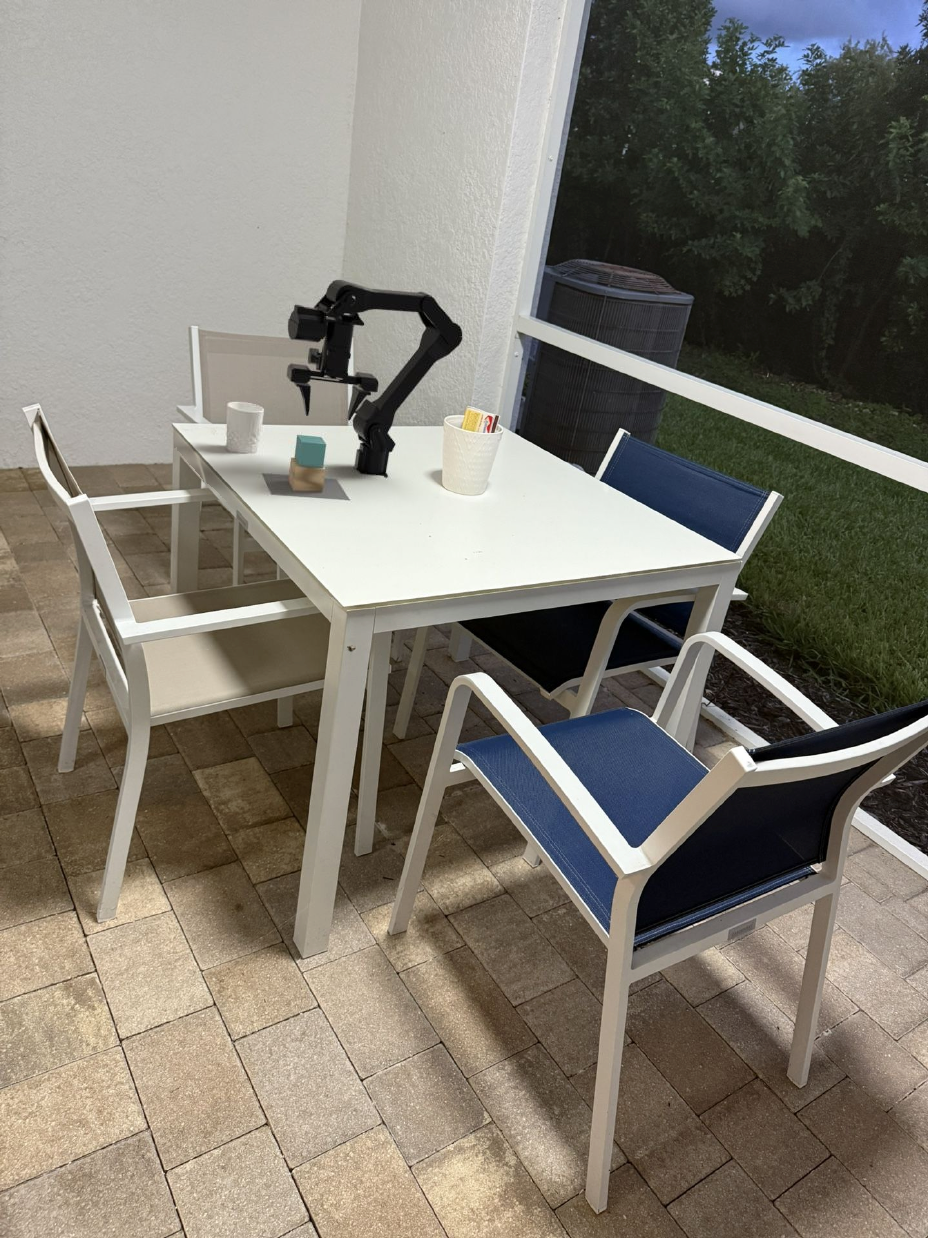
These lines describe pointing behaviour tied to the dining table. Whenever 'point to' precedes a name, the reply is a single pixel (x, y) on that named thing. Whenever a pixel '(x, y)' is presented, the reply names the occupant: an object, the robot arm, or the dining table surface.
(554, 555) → the dining table surface
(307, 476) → the oak base block
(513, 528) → the dining table surface
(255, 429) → the white cup
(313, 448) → the teal cube
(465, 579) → the dining table surface
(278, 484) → the build board
